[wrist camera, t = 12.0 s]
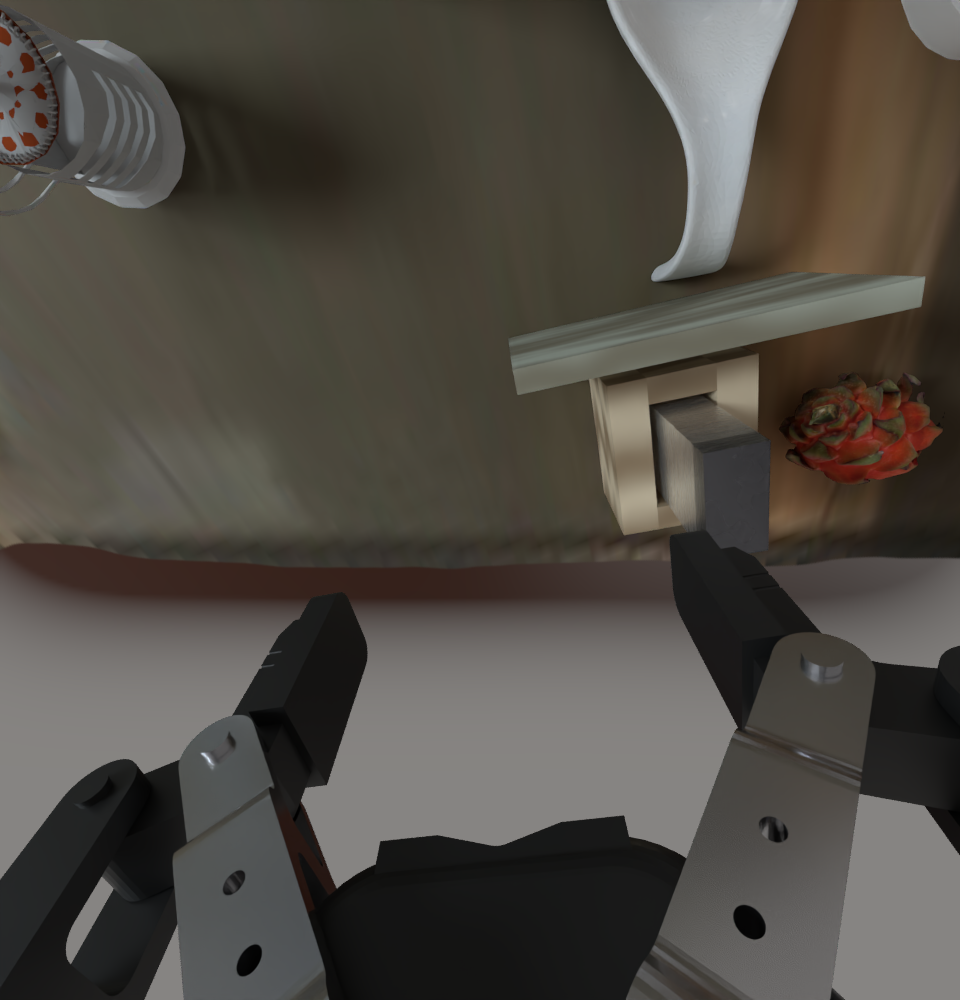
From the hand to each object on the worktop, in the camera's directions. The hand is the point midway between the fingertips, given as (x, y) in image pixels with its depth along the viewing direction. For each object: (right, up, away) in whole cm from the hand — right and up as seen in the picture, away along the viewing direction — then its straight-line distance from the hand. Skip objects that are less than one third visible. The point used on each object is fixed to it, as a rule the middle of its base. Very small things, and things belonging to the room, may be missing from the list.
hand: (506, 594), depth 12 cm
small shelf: (+14, +11, +30) cm, 35 cm away
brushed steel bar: (+14, +7, +27) cm, 31 cm away
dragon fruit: (+30, +10, +30) cm, 44 cm away
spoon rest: (+13, +30, +21) cm, 39 cm away
